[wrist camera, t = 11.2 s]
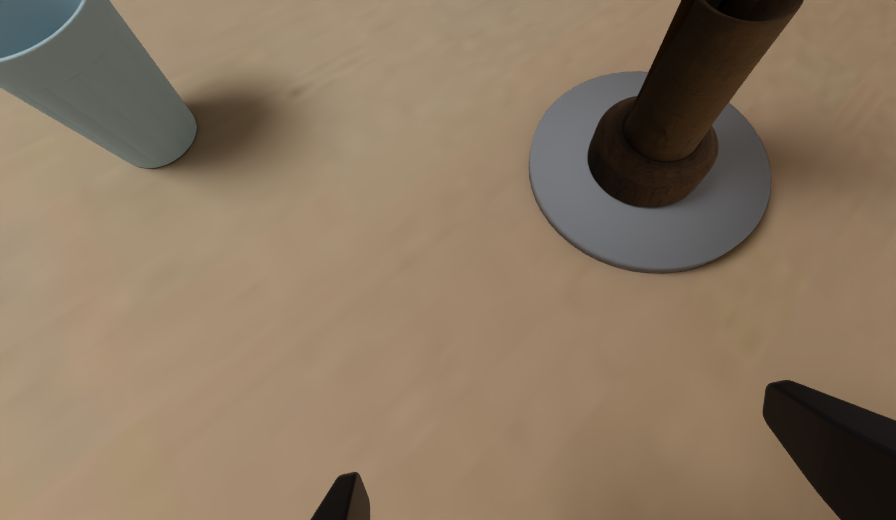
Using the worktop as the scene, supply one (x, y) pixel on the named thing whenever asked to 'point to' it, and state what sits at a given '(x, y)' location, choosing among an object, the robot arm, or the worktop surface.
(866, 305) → the worktop surface
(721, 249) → the mat
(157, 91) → the cup
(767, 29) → the wooden pepper mill
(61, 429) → the worktop surface
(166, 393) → the worktop surface
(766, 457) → the worktop surface
